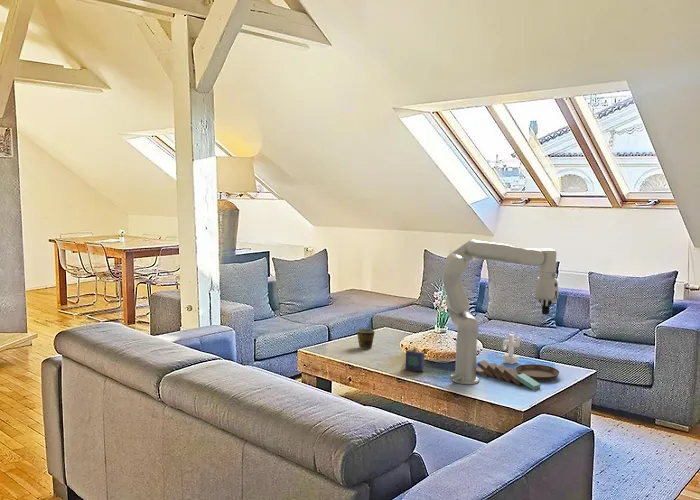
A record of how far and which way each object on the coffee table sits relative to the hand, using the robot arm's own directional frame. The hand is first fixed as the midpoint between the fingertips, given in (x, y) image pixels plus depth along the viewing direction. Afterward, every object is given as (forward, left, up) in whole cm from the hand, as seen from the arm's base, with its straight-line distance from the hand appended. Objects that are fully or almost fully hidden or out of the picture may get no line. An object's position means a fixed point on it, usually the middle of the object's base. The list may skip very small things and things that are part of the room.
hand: (545, 313), depth 298 cm
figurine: (+14, +29, -32) cm, 46 cm away
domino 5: (-14, +1, -31) cm, 34 cm away
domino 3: (-14, +11, -31) cm, 36 cm away
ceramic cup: (-29, +97, -32) cm, 106 cm away
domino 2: (-14, +20, -32) cm, 40 cm away
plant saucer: (+4, +6, -33) cm, 33 cm away
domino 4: (-14, +7, -31) cm, 35 cm away
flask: (-37, +49, -32) cm, 69 cm away
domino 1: (-14, +17, -31) cm, 38 cm away
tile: (-14, -6, -31) cm, 35 cm away
